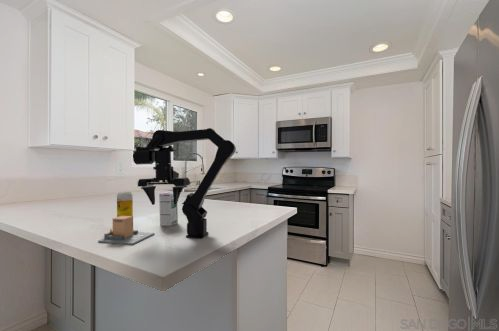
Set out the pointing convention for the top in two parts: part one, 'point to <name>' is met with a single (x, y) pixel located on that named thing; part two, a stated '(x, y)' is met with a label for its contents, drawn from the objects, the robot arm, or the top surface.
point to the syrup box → (167, 209)
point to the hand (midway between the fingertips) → (164, 204)
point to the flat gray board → (129, 240)
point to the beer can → (124, 204)
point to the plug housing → (123, 226)
